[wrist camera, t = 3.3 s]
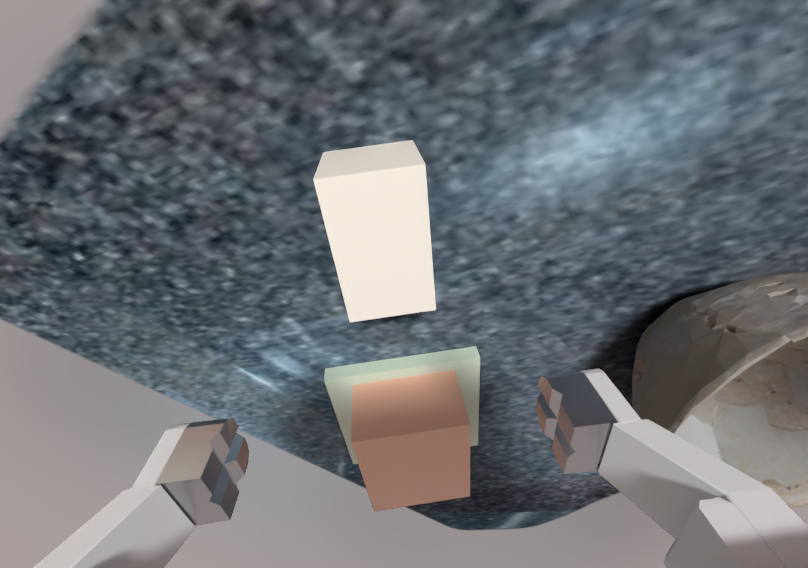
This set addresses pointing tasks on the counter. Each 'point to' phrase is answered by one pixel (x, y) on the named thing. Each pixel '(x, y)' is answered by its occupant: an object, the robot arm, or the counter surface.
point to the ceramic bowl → (734, 378)
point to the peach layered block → (410, 424)
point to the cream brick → (378, 228)
